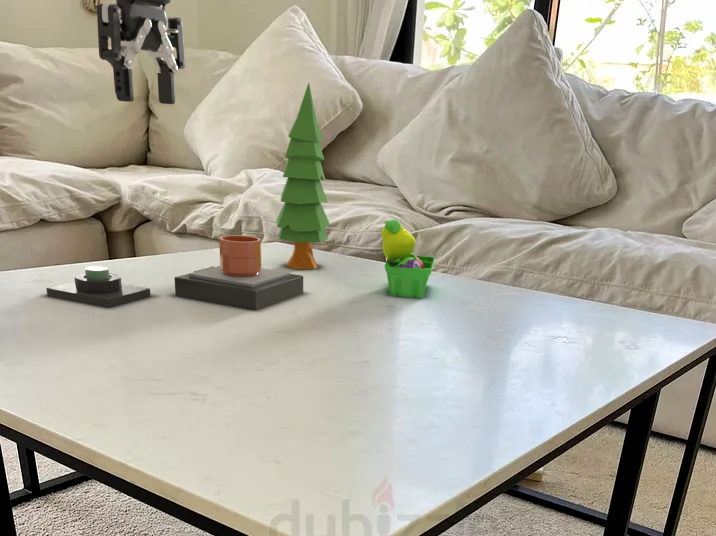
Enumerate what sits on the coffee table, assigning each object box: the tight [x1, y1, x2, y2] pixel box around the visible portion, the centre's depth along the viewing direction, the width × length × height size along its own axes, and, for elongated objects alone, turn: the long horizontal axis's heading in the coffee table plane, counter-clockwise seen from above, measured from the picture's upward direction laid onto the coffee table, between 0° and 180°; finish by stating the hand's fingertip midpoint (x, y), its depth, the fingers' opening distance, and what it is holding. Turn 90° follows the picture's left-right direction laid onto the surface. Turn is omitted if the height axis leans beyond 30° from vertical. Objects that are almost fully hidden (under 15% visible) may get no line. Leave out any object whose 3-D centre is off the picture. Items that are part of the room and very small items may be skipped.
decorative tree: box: [275, 82, 330, 270], centre depth 136 cm, size 10×9×30 cm
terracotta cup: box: [218, 234, 262, 277], centre depth 117 cm, size 6×6×5 cm
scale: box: [173, 265, 304, 311], centre depth 119 cm, size 14×14×4 cm
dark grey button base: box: [46, 272, 152, 309], centre depth 113 cm, size 11×9×3 cm
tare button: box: [84, 265, 110, 280], centre depth 112 cm, size 3×3×2 cm
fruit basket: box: [381, 219, 436, 299], centre depth 127 cm, size 11×9×11 cm
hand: (147, 102), depth 104 cm, fingers open, 8 cm apart
